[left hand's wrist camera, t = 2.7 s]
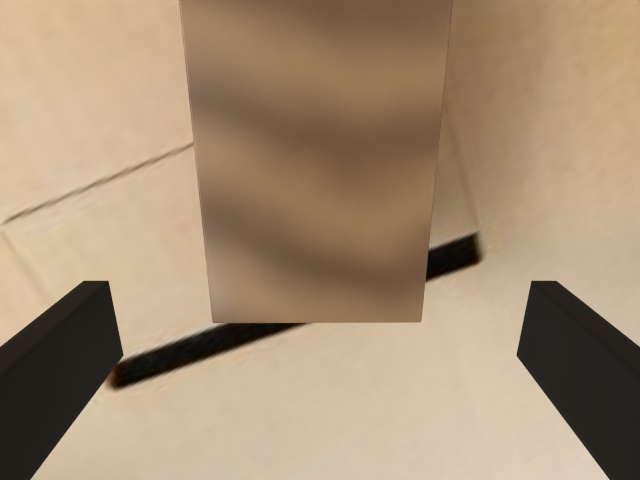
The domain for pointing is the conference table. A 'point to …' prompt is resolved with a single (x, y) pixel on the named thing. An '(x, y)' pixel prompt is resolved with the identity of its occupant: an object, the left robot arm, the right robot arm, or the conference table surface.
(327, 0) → the cabinet
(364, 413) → the conference table surface
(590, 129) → the conference table surface
